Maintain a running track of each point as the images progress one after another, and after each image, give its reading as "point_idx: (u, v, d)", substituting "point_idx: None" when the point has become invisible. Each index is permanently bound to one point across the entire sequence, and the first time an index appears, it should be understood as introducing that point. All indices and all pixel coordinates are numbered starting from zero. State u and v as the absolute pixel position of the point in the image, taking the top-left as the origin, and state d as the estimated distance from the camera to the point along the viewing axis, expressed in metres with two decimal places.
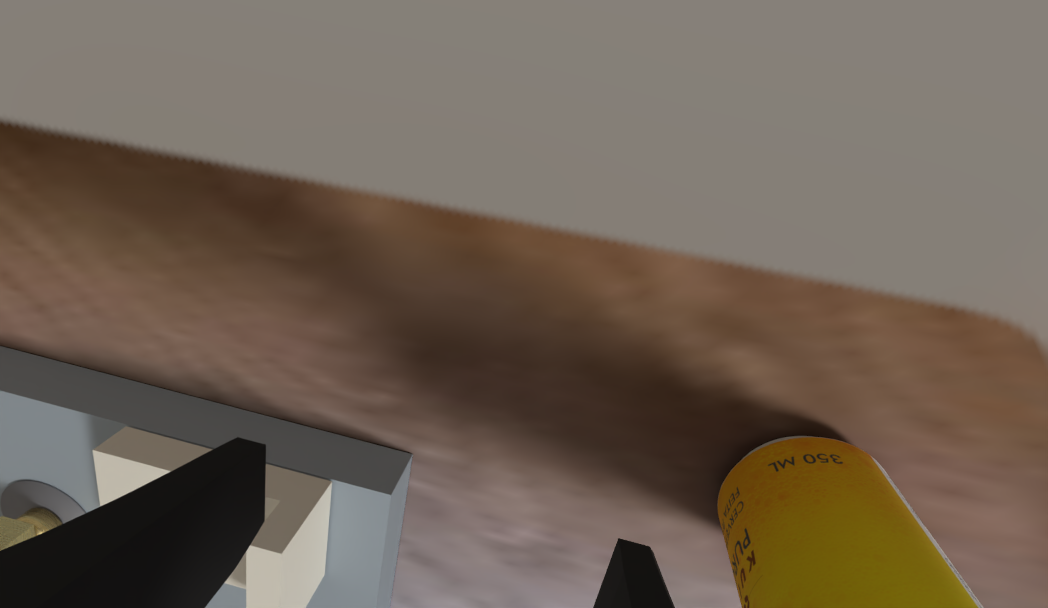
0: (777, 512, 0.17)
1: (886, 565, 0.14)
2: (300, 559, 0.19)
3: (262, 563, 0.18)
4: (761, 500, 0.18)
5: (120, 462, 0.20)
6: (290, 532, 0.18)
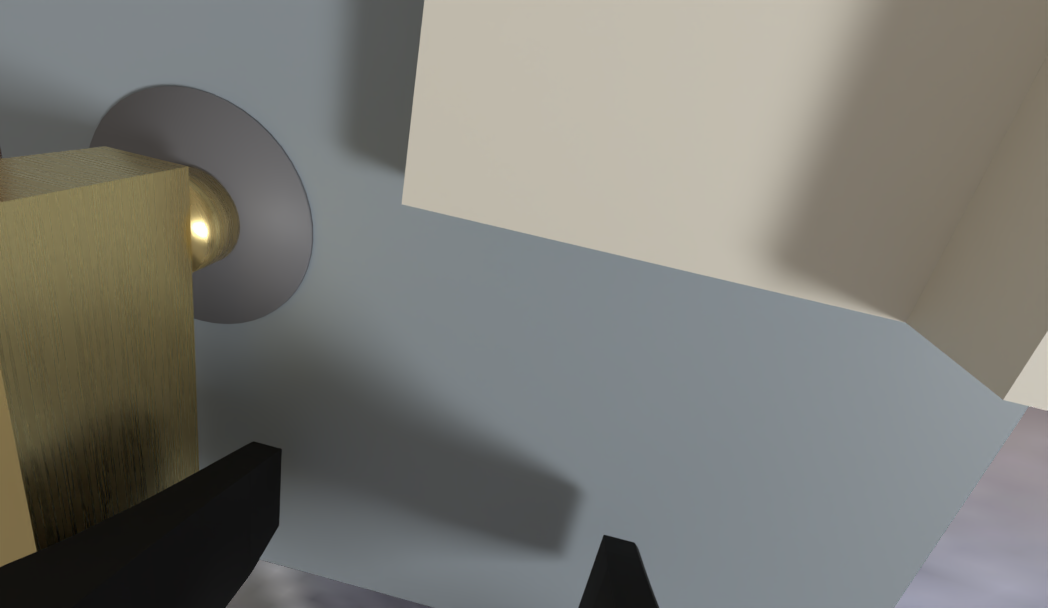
0: None
1: None
2: None
3: None
4: None
5: None
6: None
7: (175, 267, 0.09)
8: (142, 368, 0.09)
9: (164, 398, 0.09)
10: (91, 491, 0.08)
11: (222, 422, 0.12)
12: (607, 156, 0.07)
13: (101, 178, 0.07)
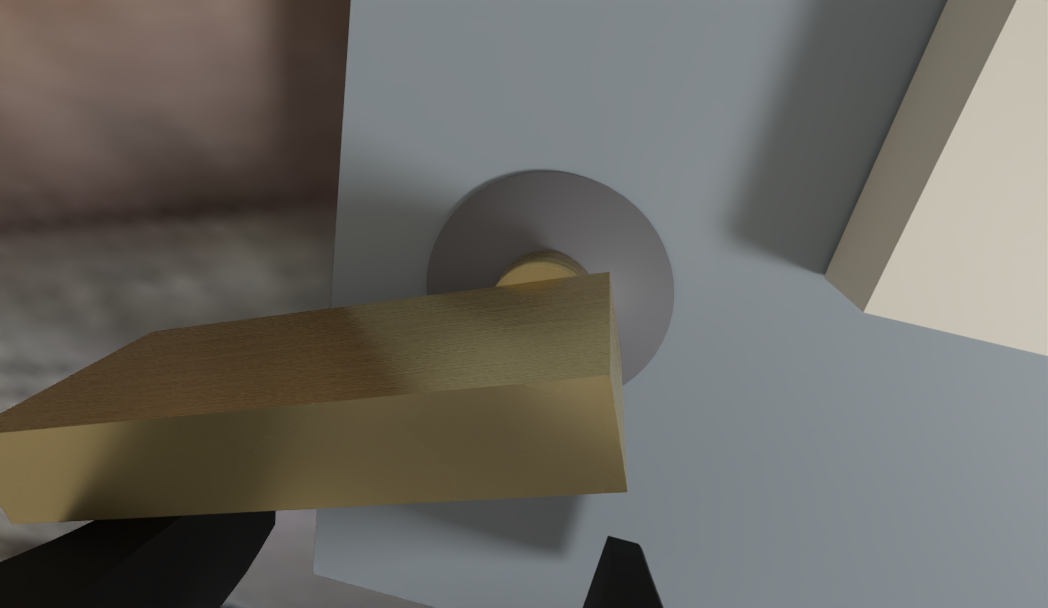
0: None
1: None
2: None
3: None
4: None
5: None
6: None
7: None
8: None
9: None
10: None
11: (515, 499, 0.12)
12: None
13: (621, 391, 0.07)
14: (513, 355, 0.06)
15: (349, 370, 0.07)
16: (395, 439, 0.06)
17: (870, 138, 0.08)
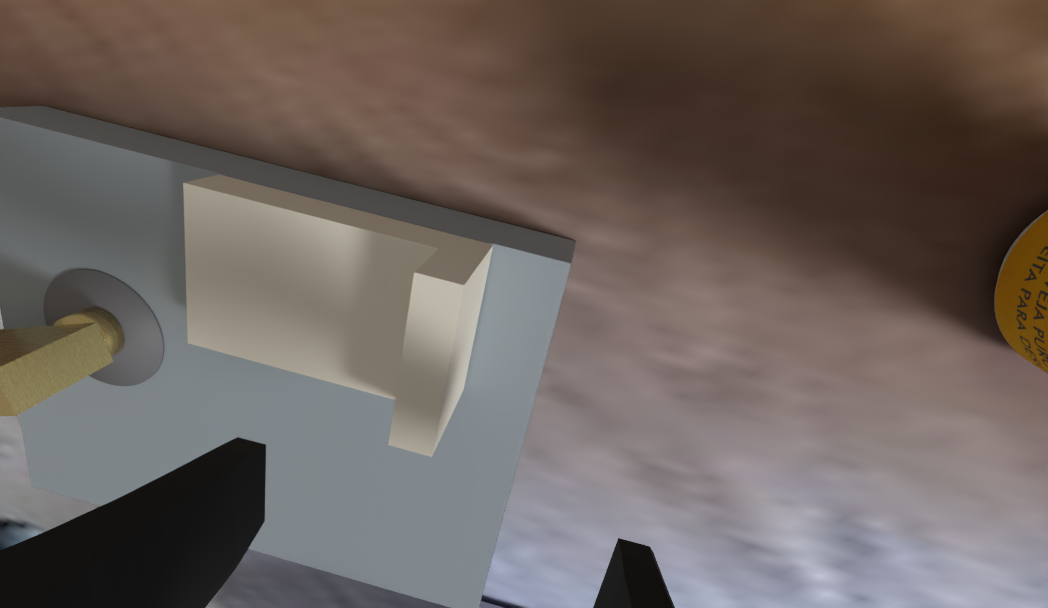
0: None
1: None
2: (465, 327, 0.14)
3: (433, 304, 0.13)
4: None
5: (221, 200, 0.15)
6: (465, 272, 0.13)
7: None
8: None
9: None
10: None
11: (123, 439, 0.21)
12: (272, 329, 0.16)
13: (72, 378, 0.17)
14: None
15: None
16: None
17: None
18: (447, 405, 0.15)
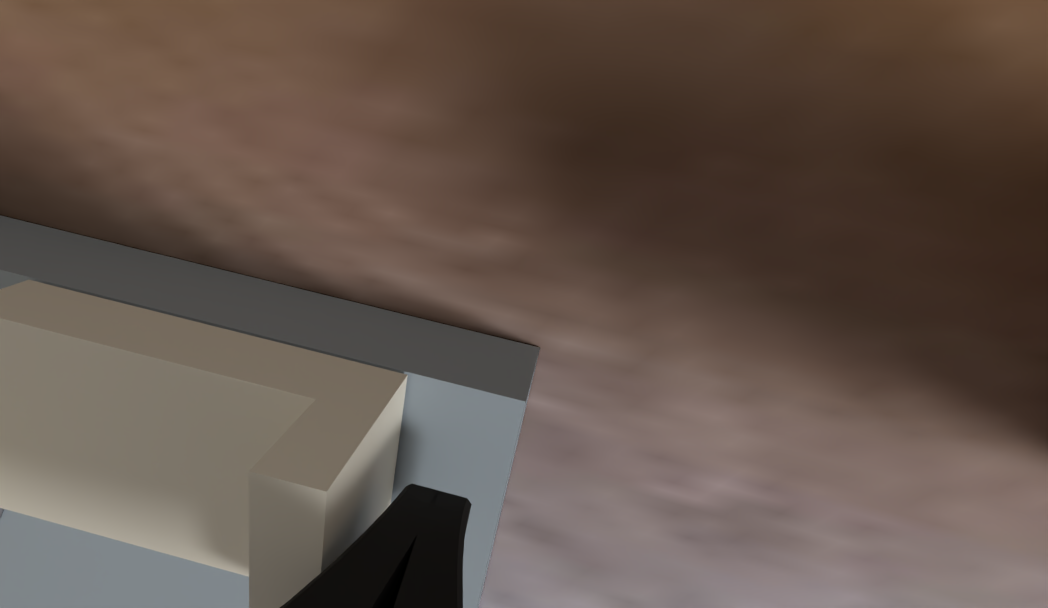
0: None
1: None
2: (355, 514, 0.10)
3: (283, 514, 0.08)
4: None
5: (6, 330, 0.10)
6: (341, 452, 0.09)
7: None
8: None
9: None
10: None
11: None
12: (105, 494, 0.12)
13: None
14: None
15: None
16: None
17: None
18: None
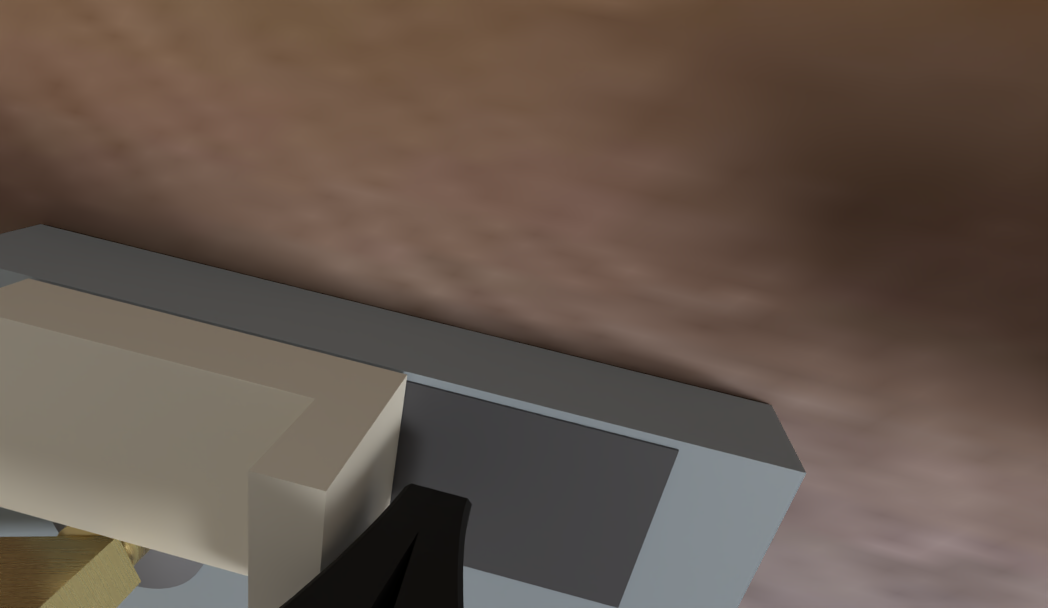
0: None
1: None
2: (355, 514, 0.10)
3: (283, 514, 0.08)
4: None
5: (5, 329, 0.10)
6: (340, 452, 0.09)
7: None
8: None
9: None
10: None
11: None
12: (104, 493, 0.12)
13: None
14: None
15: None
16: None
17: None
18: None
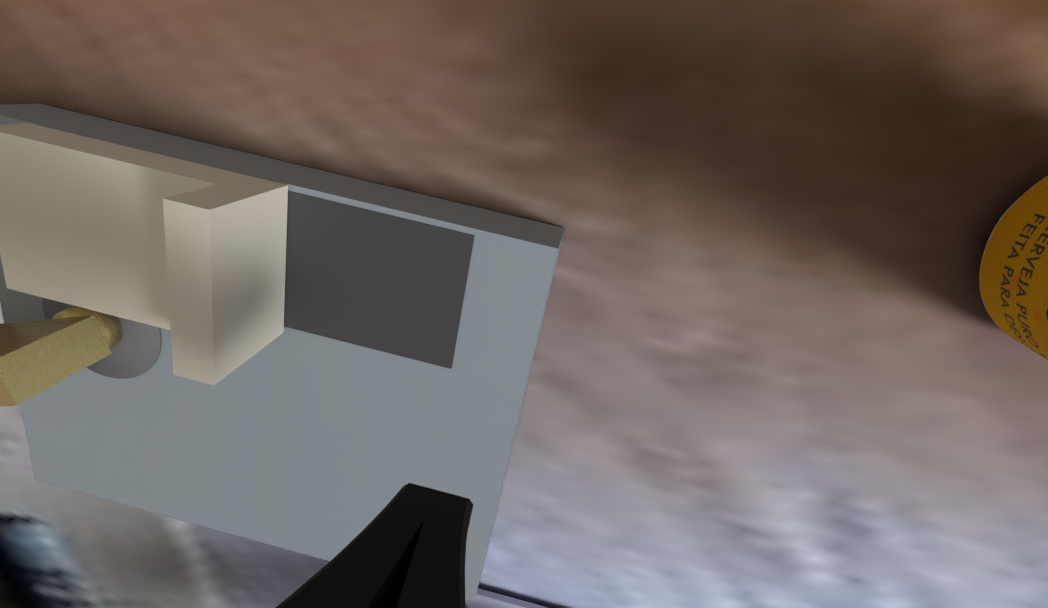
0: None
1: None
2: (243, 259, 0.15)
3: (185, 230, 0.13)
4: None
5: (13, 143, 0.15)
6: (225, 201, 0.14)
7: None
8: None
9: None
10: None
11: (123, 431, 0.21)
12: (80, 271, 0.17)
13: (70, 369, 0.17)
14: None
15: None
16: None
17: None
18: (234, 337, 0.15)
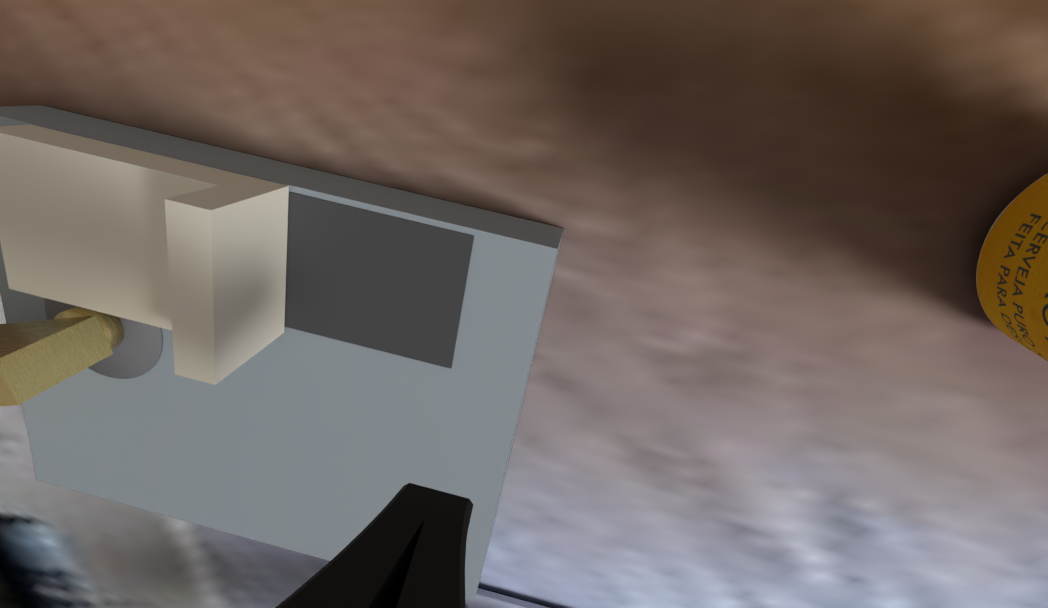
0: None
1: None
2: (244, 259, 0.15)
3: (187, 230, 0.13)
4: None
5: (15, 144, 0.16)
6: (226, 202, 0.14)
7: None
8: None
9: None
10: None
11: (124, 431, 0.21)
12: (82, 271, 0.17)
13: (72, 369, 0.17)
14: None
15: None
16: None
17: None
18: (235, 337, 0.16)
